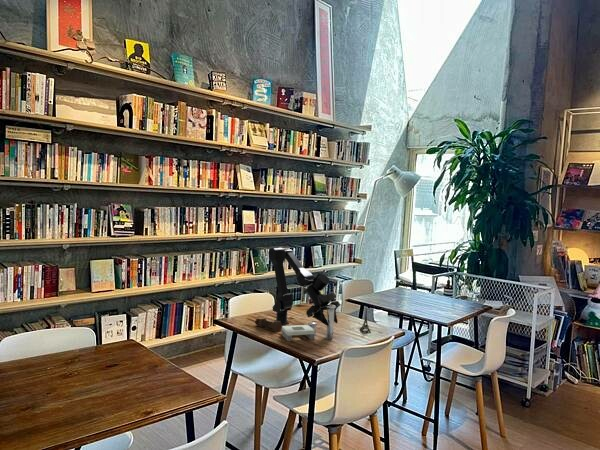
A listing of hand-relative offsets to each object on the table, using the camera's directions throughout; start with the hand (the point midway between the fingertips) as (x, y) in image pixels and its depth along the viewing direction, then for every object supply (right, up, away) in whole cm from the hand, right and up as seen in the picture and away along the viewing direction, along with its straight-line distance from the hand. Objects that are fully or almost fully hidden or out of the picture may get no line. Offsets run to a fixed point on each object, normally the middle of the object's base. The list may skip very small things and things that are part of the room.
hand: (332, 324), depth 204 cm
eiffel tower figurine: (+18, -8, +15) cm, 25 cm away
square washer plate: (-16, -6, +2) cm, 17 cm away
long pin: (-1, -7, +1) cm, 7 cm away
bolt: (-31, -6, +14) cm, 35 cm away
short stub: (-9, -6, +9) cm, 14 cm away
